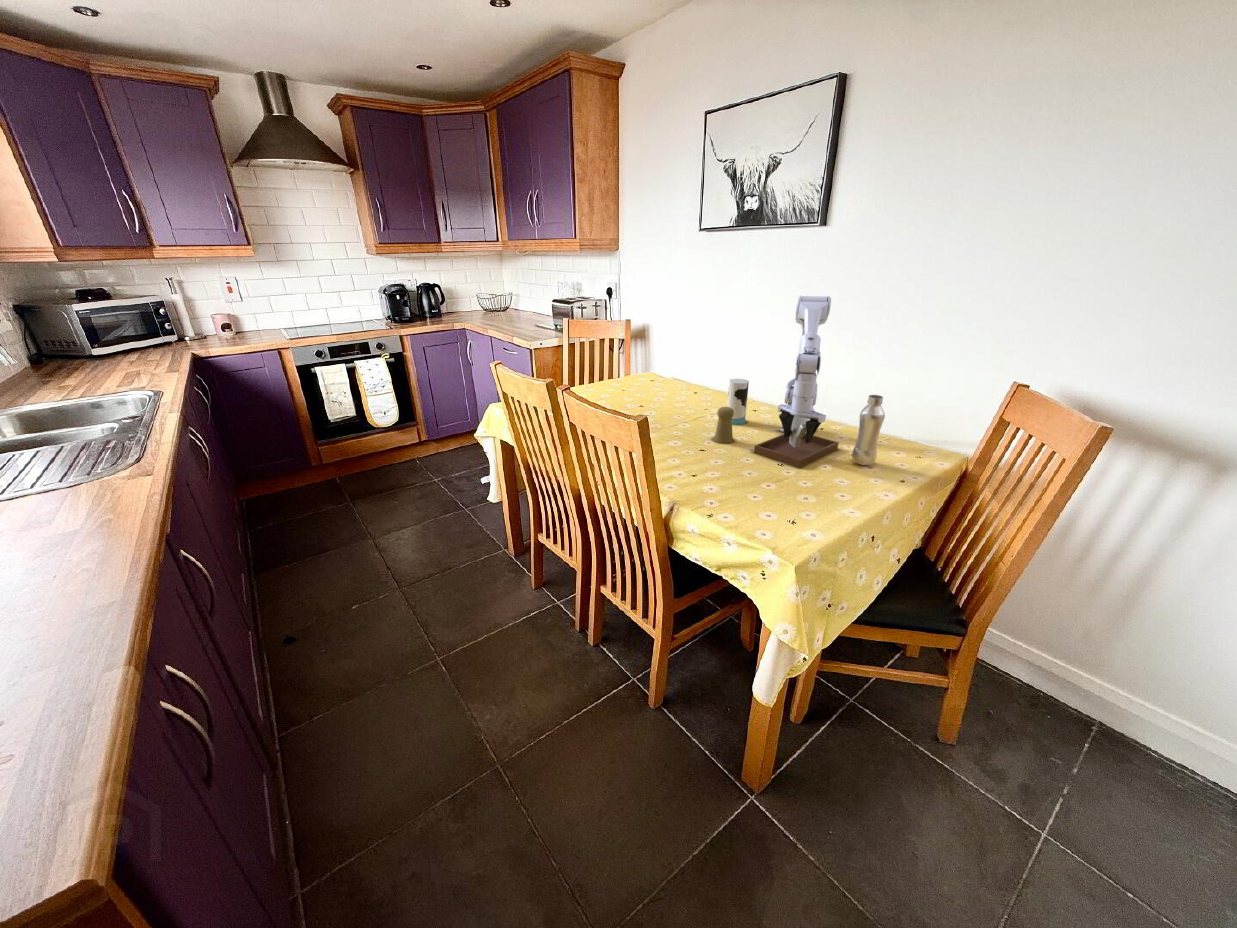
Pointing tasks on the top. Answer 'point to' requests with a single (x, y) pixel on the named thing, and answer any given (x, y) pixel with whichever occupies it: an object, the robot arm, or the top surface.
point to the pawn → (724, 425)
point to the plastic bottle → (869, 431)
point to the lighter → (797, 435)
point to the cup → (738, 399)
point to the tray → (796, 450)
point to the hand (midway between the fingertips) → (797, 439)
